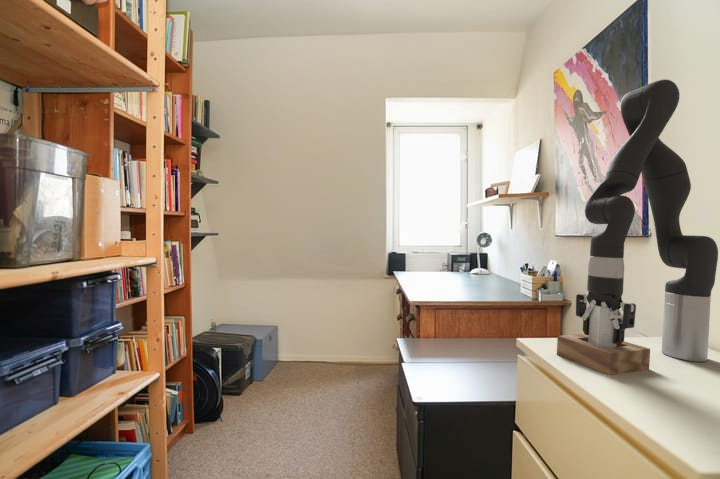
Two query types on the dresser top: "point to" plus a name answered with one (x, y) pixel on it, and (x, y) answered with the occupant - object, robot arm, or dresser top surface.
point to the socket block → (603, 354)
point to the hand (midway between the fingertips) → (602, 338)
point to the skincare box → (601, 327)
